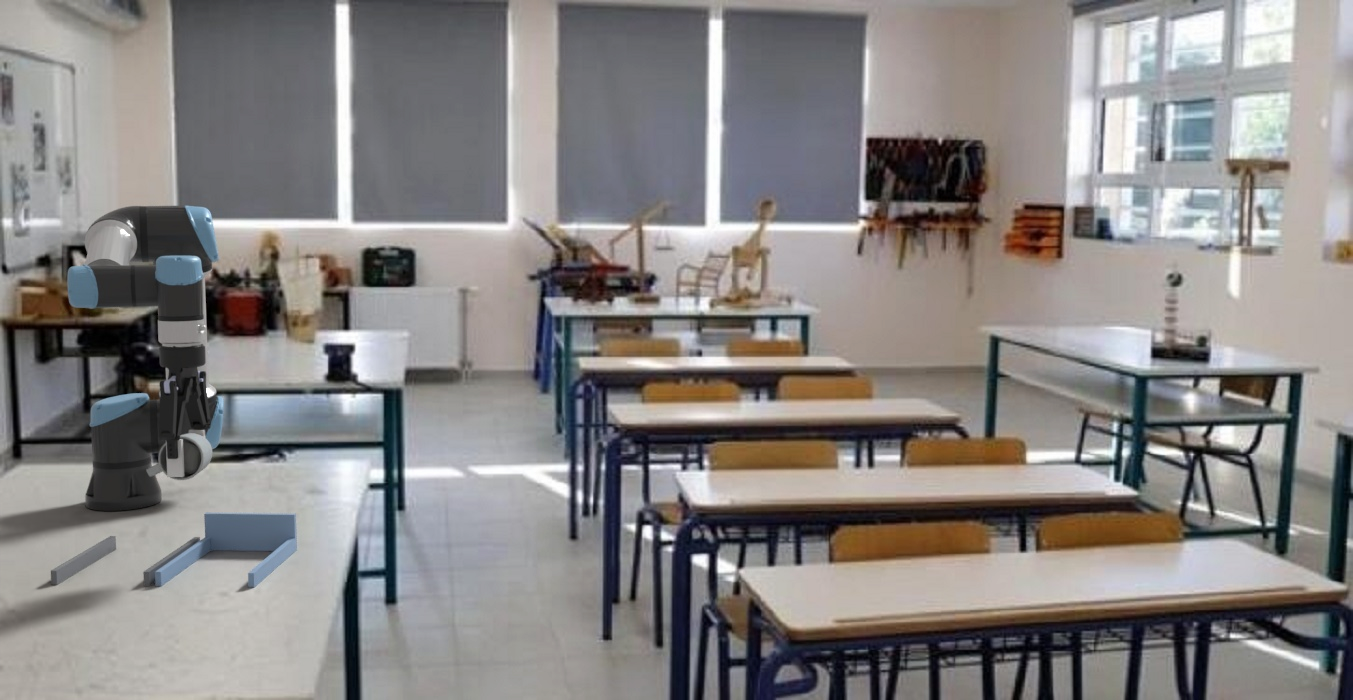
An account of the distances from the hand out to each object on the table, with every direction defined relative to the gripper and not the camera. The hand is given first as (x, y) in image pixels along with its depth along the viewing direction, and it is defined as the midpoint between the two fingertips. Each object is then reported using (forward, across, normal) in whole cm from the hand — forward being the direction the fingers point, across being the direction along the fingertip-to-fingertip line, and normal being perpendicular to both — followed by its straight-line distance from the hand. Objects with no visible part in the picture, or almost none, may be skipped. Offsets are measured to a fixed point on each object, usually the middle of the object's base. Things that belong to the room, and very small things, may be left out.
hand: (187, 470), depth 223 cm
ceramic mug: (+1, 0, +1) cm, 2 cm away
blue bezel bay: (+18, +1, -6) cm, 19 cm away
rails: (+18, +1, +12) cm, 21 cm away
